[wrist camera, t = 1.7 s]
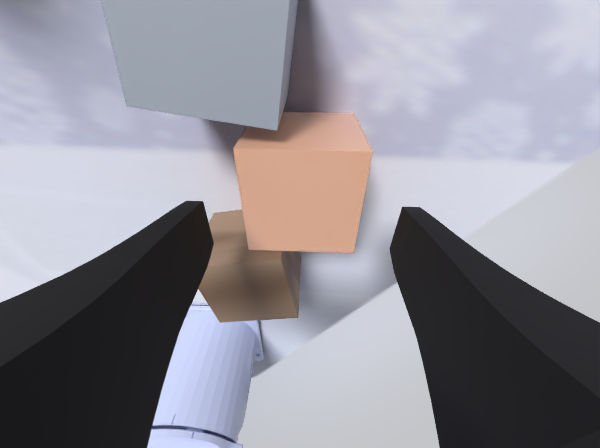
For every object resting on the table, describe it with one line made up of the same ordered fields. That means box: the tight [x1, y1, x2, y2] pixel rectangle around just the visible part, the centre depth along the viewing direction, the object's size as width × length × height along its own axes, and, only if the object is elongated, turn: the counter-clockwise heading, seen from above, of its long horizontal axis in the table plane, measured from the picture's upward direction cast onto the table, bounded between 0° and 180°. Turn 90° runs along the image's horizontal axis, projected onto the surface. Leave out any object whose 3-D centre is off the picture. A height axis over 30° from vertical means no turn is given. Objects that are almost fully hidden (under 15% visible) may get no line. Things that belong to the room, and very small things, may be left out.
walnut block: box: [198, 210, 301, 323], centre depth 17 cm, size 5×5×5 cm
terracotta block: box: [233, 112, 373, 253], centre depth 13 cm, size 5×5×5 cm
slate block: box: [101, 0, 298, 131], centre depth 9 cm, size 5×5×5 cm
